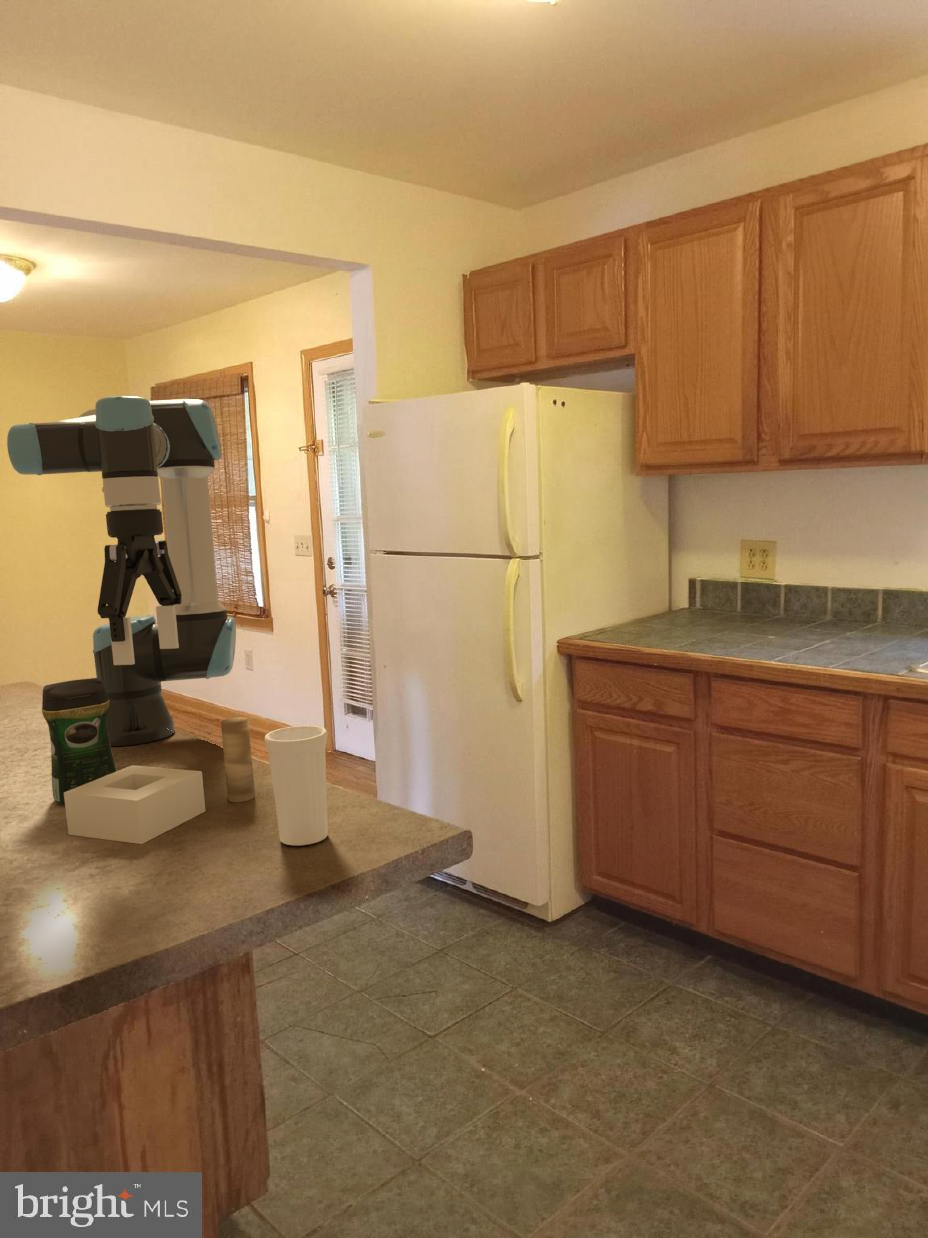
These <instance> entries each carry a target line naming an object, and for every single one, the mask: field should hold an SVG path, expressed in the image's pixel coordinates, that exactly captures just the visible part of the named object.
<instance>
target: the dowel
mask: <svg viewBox="0 0 928 1238" xmlns="http://www.w3.org/2000/svg"><path fill="white" fill-rule="evenodd" d="M220 726H221V727H220V728H221V738H222V748H223V749H222V750H223V761H224V771H225V782H226V783H225V784H226V793H227V794H226V795H227V800H228V802H231V803H244V802H248V801H250V800H253V799H255V797H256V794H255V793H256V791H255V781H254V779H255V778H254V768H253V757H252V747H251V736H250V721H249V718H248V717H244V716H243V717H242V716H241V717H239V716H237V717H229V718H224V719H223V720H221V721H220Z"/></svg>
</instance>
